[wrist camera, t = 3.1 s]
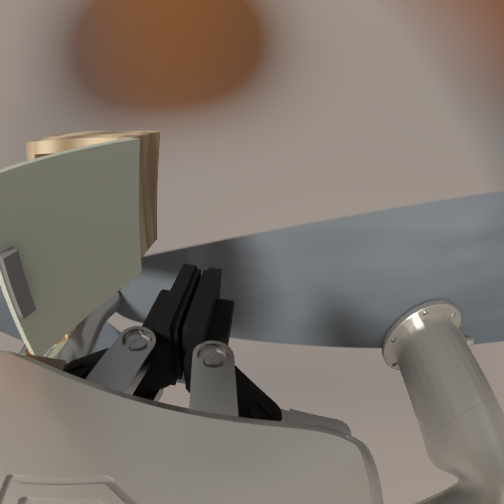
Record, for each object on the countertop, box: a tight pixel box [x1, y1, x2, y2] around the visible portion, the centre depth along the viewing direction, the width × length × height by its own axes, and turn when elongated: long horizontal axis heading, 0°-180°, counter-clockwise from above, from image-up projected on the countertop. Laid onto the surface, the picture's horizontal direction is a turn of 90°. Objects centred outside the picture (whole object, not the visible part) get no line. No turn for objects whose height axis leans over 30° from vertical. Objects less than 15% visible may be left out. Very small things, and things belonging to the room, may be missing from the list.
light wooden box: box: [27, 131, 160, 258], centre depth 23 cm, size 12×11×6 cm
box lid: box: [0, 138, 142, 356], centre depth 15 cm, size 12×11×2 cm
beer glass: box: [19, 291, 121, 363], centre depth 26 cm, size 7×7×15 cm
